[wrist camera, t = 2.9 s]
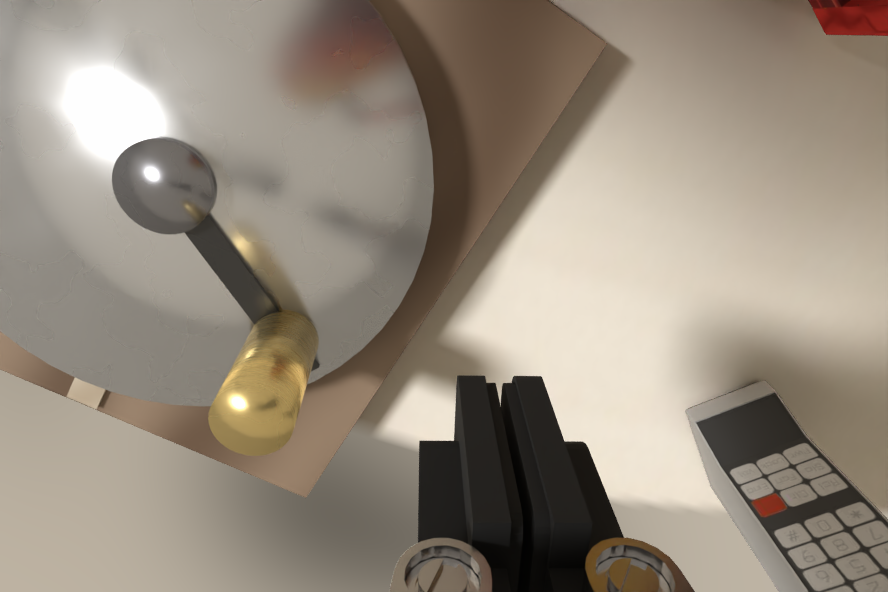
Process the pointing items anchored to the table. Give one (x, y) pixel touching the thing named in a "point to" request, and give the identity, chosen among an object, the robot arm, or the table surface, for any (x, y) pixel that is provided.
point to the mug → (852, 16)
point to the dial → (207, 197)
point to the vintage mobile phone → (789, 496)
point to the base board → (452, 221)
